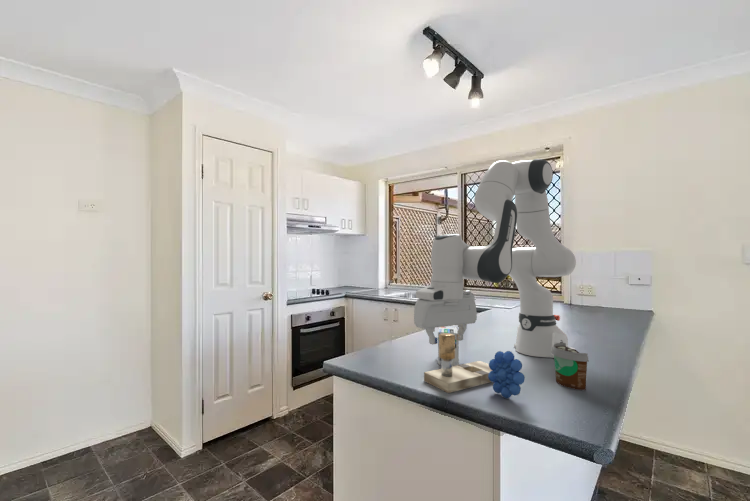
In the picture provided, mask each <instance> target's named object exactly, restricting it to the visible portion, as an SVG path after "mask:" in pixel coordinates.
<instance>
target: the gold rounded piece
mask: <svg viewBox="0 0 750 501" xmlns="http://www.w3.org/2000/svg"><path fill="white" fill-rule="evenodd" d="M439 357H440V358H441V365H440V366H441V368H440V369H441V375H442V376H444V377H451V376H452V362H453V359H454V358H455V335H454V334H448V333H443V334H439Z"/></svg>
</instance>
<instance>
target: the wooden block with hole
mask: <svg viewBox="0 0 750 501" xmlns="http://www.w3.org/2000/svg"><path fill="white" fill-rule="evenodd" d="M490 371H493V370H491V369H490V367H489V363H487V362H485V361H481V360H477V361H472V362H471V361H470V362H468V363H459V365H457V366H452V376H451V377H444V376H442V375H441V368H437V369H433V370H429V371H424V372H423V381H424V382H425V383H427V384H430V385H432V386H433V387H435V388H438V389H439V390H441V391H443V392H445V393H448V394H450V393H455V392H458V391H462V390H465V389H469V388H474V387H478V386H481V385H485V384H489V383H492V382H491V381H490V380H489V378H488V374H489V372H490Z"/></svg>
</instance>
